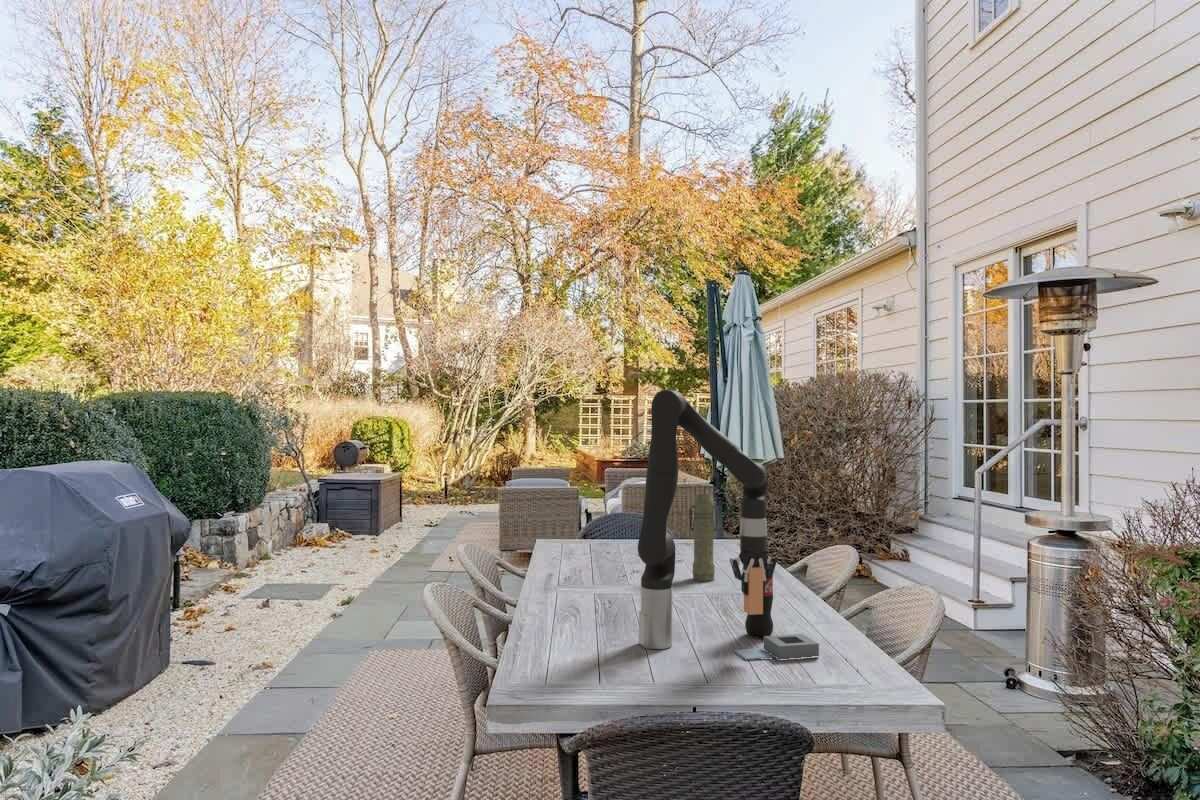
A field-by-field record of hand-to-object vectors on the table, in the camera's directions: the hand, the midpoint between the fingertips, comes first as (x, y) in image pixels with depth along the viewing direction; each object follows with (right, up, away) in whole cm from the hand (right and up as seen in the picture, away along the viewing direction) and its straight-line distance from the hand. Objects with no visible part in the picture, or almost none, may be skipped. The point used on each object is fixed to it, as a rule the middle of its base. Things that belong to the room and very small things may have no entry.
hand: (753, 593), depth 222 cm
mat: (0, -17, 0) cm, 17 cm away
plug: (0, -5, 0) cm, 5 cm away
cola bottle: (+6, -18, +20) cm, 27 cm away
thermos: (-1, -19, +100) cm, 102 cm away
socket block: (+11, -17, +1) cm, 21 cm away
